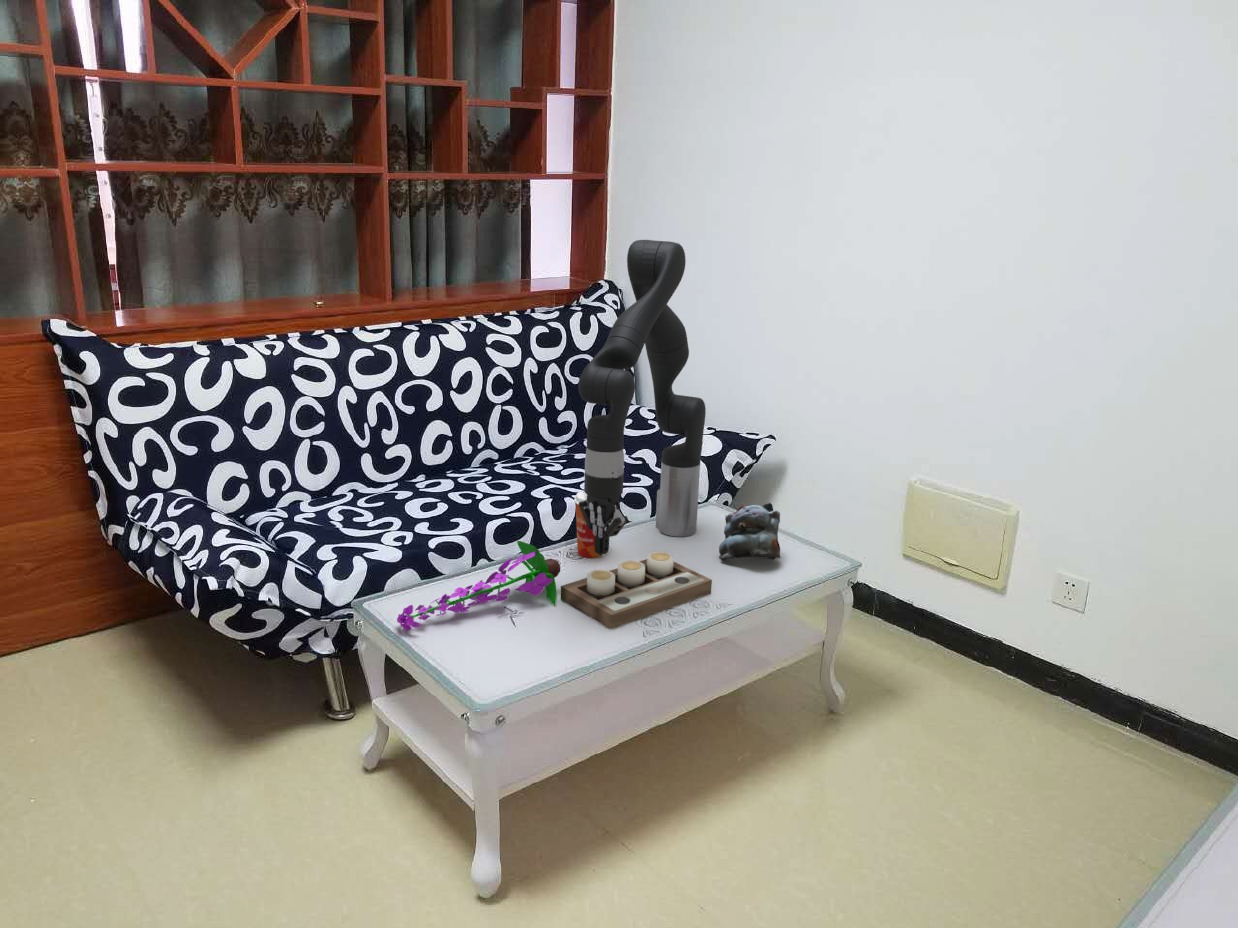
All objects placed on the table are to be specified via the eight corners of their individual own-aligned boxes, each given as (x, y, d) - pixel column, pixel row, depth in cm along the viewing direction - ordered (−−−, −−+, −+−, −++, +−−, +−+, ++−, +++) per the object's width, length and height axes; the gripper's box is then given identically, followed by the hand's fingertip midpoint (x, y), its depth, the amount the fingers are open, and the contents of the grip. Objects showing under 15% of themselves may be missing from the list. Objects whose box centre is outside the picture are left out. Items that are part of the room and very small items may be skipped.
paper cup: (567, 549, 220) (569, 491, 216) (598, 544, 223) (600, 487, 219) (581, 562, 214) (582, 502, 209) (612, 557, 217) (614, 498, 212)
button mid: (611, 578, 199) (612, 564, 198) (632, 571, 202) (633, 557, 201) (629, 587, 195) (630, 573, 194) (650, 580, 198) (650, 566, 197)
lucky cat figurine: (706, 559, 217) (709, 498, 220) (735, 565, 226) (738, 506, 229) (763, 558, 208) (766, 494, 211) (792, 565, 217) (794, 503, 219)
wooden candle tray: (560, 599, 196) (560, 584, 195) (659, 567, 212) (660, 553, 211) (610, 629, 184) (611, 613, 183) (711, 593, 201) (712, 578, 200)
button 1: (581, 587, 194) (581, 573, 193) (602, 581, 197) (603, 566, 196) (598, 597, 190) (599, 583, 189) (620, 590, 193) (620, 576, 192)
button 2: (641, 568, 204) (641, 555, 203) (660, 562, 207) (661, 549, 206) (658, 577, 200) (659, 563, 199) (678, 571, 203) (679, 557, 202)
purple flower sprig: (570, 613, 199) (417, 675, 179) (529, 554, 207) (378, 607, 186) (586, 577, 191) (427, 638, 171) (542, 517, 198) (386, 568, 178)
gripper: (567, 464, 188) (566, 547, 194) (611, 482, 179) (607, 568, 184) (597, 458, 193) (595, 539, 198) (641, 475, 184) (637, 559, 189)
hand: (601, 553), depth 191 cm, fingers closed
